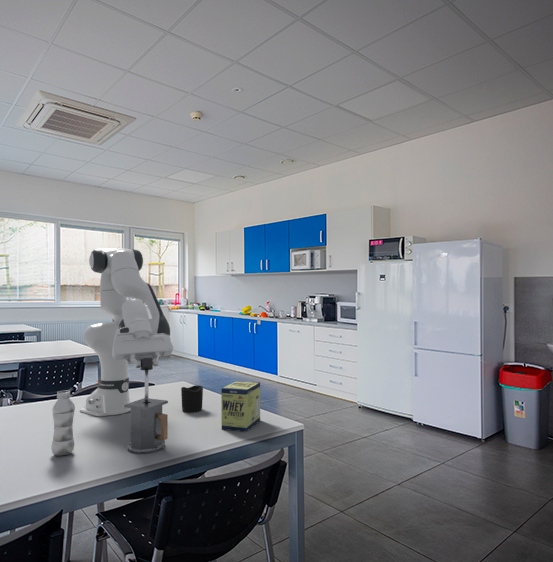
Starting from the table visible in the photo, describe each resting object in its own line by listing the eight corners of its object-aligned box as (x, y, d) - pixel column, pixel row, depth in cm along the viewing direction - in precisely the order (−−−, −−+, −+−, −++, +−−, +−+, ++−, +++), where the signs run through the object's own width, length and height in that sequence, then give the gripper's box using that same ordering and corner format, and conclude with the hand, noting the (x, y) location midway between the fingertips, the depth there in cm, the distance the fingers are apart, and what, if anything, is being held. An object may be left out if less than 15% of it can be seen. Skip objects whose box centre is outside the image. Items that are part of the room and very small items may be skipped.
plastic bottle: (56, 451, 141) (56, 389, 141) (77, 450, 142) (78, 389, 142) (47, 458, 134) (48, 394, 135) (69, 457, 135) (70, 393, 136)
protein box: (220, 429, 162) (220, 388, 163) (237, 418, 177) (237, 380, 178) (246, 432, 159) (246, 390, 160) (260, 420, 174) (260, 381, 174)
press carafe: (119, 450, 141) (119, 405, 141) (144, 439, 152) (144, 397, 152) (153, 456, 135) (153, 409, 136) (176, 444, 146) (176, 400, 147)
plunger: (129, 415, 142) (129, 359, 143) (145, 410, 149) (145, 356, 150) (147, 418, 139) (148, 361, 140) (162, 412, 146) (162, 357, 147)
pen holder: (185, 407, 195) (185, 385, 195) (205, 408, 193) (205, 385, 193) (177, 412, 185) (177, 389, 186) (198, 413, 184) (198, 390, 184)
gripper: (166, 338, 160) (175, 368, 152) (108, 342, 150) (114, 374, 141) (170, 327, 157) (179, 357, 148) (111, 330, 146) (117, 363, 137)
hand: (147, 366), depth 144 cm, fingers open, 5 cm apart
